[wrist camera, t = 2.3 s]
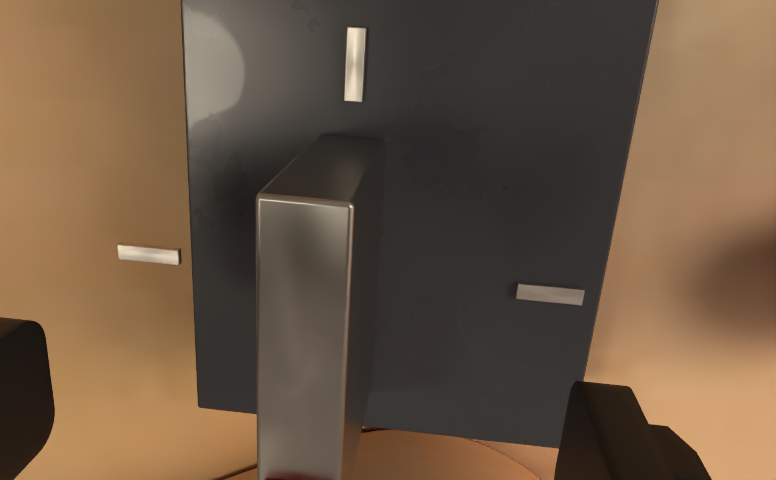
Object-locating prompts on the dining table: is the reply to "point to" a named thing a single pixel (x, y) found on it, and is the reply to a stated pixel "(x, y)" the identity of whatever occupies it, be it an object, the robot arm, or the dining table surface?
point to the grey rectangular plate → (316, 307)
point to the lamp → (425, 459)
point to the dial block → (422, 189)
